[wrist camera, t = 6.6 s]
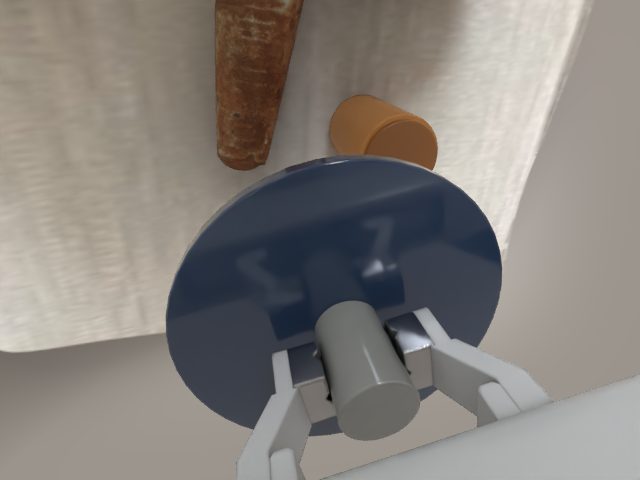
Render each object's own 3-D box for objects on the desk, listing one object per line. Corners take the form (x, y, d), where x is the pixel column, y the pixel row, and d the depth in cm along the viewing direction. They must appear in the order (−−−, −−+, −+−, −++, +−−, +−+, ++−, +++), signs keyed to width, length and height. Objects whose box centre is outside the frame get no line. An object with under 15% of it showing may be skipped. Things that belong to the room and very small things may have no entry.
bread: (320, -110, 24) (341, -146, 19) (269, 167, 32) (275, 190, 28) (221, -151, 22) (218, -201, 18) (194, 154, 31) (186, 176, 26)
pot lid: (127, 166, 10) (54, 248, 6) (514, 135, 12) (655, 181, 8) (204, 435, 16) (193, 570, 12) (459, 385, 18) (525, 487, 14)
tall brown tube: (328, 96, 30) (362, 118, 22) (392, 93, 31) (447, 113, 23) (329, 162, 33) (359, 202, 25) (387, 157, 34) (435, 195, 26)
